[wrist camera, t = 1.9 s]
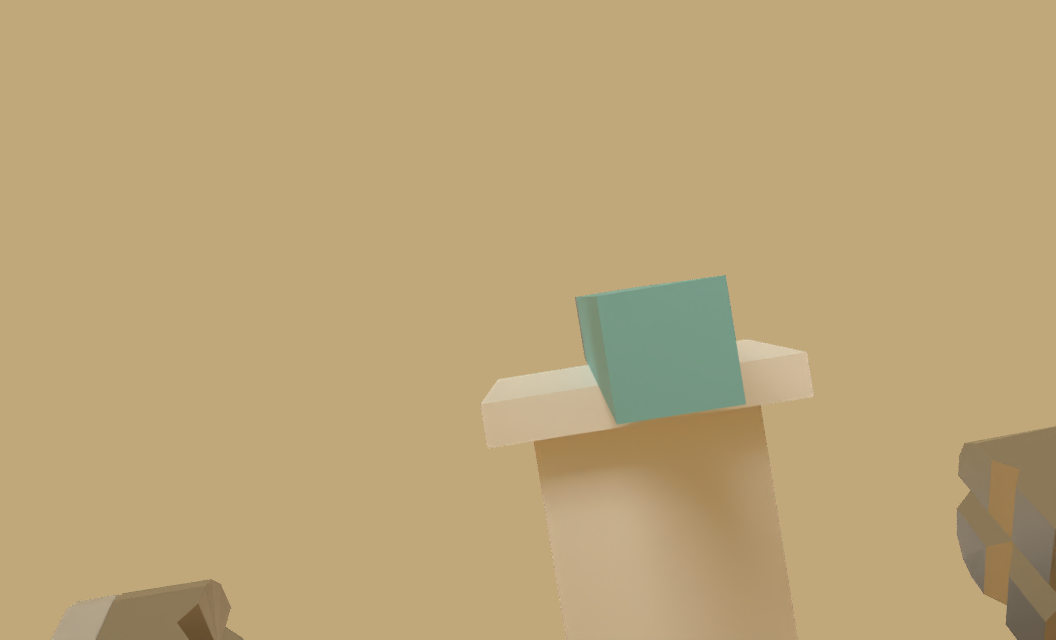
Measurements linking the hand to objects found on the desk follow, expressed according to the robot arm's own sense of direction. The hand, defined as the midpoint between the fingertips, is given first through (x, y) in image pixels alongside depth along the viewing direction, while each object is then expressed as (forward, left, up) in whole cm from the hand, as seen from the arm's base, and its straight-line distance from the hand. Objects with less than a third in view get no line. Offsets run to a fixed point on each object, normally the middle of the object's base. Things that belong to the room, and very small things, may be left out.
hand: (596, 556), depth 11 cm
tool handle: (-18, +16, 0) cm, 24 cm away
